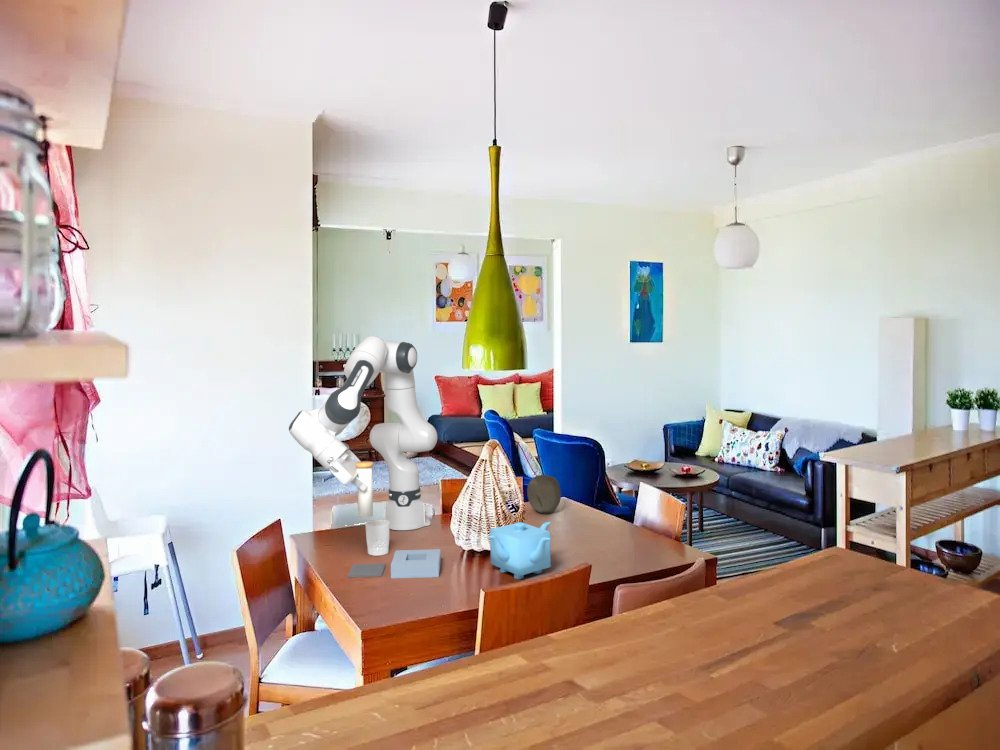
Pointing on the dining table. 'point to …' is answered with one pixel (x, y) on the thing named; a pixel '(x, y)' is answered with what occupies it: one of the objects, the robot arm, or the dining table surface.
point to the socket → (416, 563)
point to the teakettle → (520, 548)
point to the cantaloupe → (544, 493)
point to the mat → (367, 570)
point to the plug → (367, 495)
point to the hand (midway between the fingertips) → (367, 486)
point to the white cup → (377, 537)
